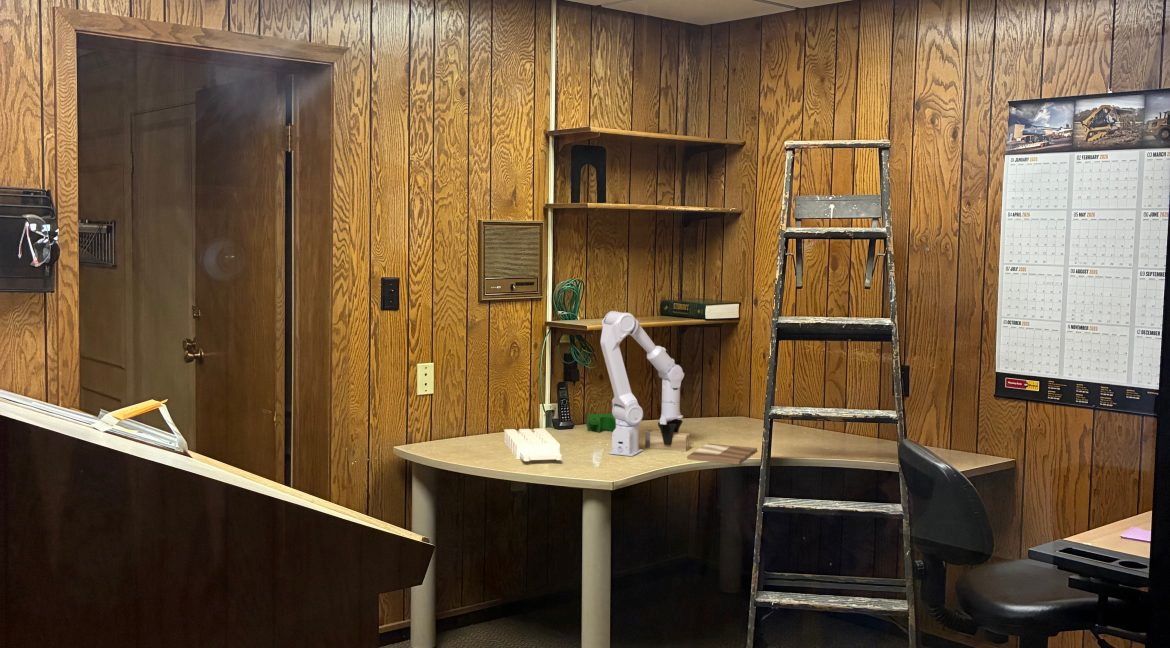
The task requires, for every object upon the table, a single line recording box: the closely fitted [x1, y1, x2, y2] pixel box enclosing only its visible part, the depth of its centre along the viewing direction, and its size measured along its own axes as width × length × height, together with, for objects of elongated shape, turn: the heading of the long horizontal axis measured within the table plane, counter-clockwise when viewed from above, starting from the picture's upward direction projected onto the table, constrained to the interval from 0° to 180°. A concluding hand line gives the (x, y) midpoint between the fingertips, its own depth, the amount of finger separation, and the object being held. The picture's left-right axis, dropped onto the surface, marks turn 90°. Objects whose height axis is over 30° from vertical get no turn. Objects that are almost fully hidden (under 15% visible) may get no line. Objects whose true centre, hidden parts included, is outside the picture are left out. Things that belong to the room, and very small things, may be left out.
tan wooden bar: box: [644, 429, 691, 452], centre depth 325 cm, size 4×14×5 cm, turn 66°
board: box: [686, 443, 758, 465], centre depth 316 cm, size 22×16×1 cm
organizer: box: [503, 427, 563, 462], centre depth 315 cm, size 13×5×35 cm
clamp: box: [585, 412, 616, 434], centre depth 354 cm, size 12×6×9 cm, turn 98°
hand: (669, 443), depth 325 cm, fingers closed on tan wooden bar, 4 cm apart
